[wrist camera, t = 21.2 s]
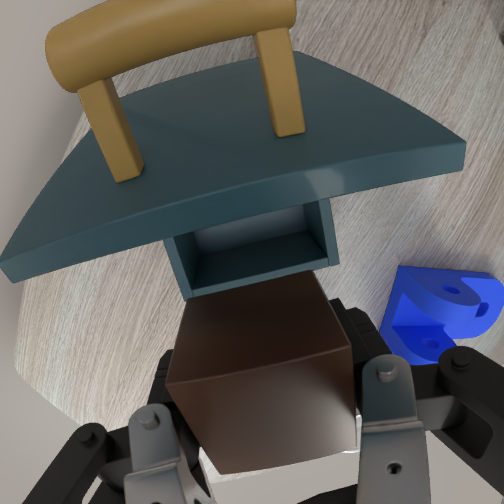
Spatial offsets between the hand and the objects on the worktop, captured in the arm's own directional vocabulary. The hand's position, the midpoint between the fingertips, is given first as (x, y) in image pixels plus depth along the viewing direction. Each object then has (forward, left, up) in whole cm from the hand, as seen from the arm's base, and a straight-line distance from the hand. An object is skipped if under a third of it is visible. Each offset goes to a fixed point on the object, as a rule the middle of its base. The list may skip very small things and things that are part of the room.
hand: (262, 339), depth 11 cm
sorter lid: (-3, +8, -4) cm, 9 cm away
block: (0, 0, 0) cm, 0 cm away
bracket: (+26, -7, -19) cm, 33 cm away
